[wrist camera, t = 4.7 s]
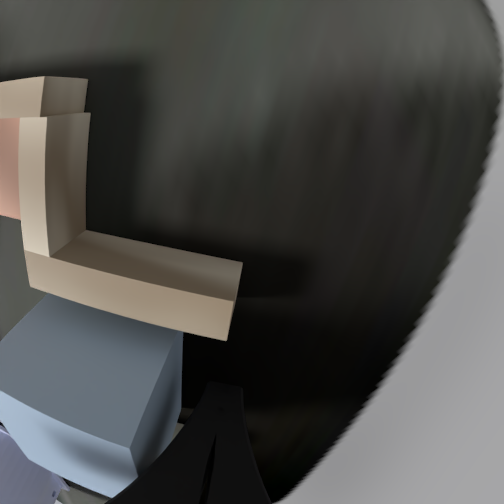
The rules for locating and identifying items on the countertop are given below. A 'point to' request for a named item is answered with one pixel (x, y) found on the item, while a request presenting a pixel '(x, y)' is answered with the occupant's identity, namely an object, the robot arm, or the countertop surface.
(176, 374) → the block
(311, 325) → the countertop surface
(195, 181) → the countertop surface
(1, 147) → the beige flat frame
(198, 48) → the countertop surface
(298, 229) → the countertop surface
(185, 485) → the robot arm
